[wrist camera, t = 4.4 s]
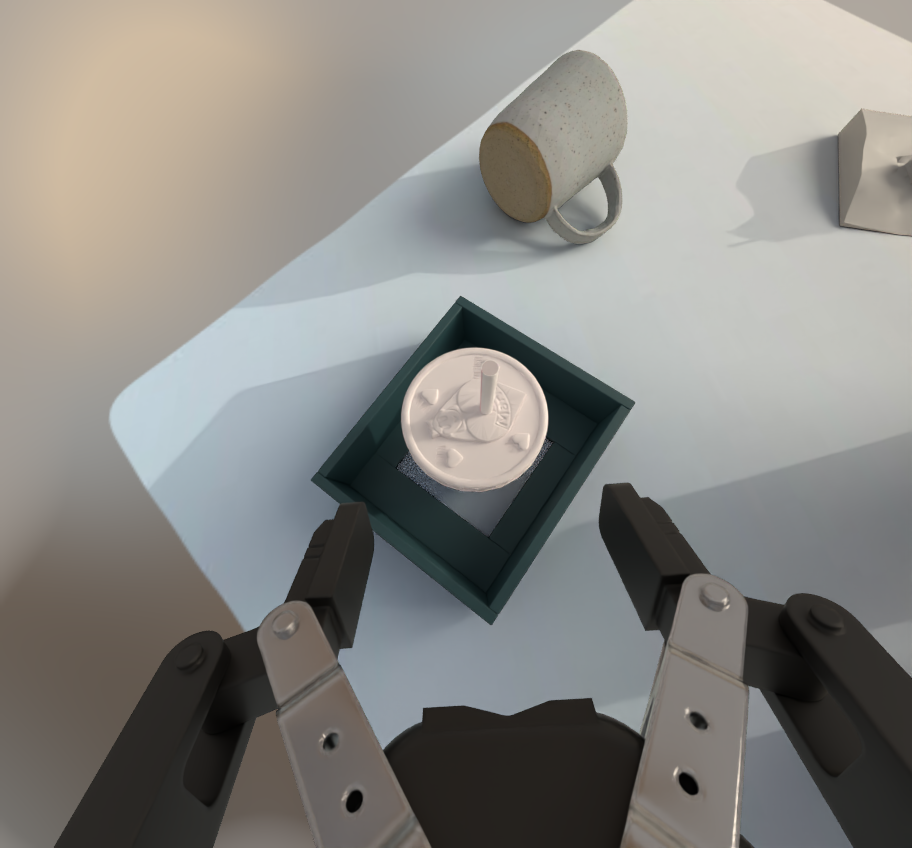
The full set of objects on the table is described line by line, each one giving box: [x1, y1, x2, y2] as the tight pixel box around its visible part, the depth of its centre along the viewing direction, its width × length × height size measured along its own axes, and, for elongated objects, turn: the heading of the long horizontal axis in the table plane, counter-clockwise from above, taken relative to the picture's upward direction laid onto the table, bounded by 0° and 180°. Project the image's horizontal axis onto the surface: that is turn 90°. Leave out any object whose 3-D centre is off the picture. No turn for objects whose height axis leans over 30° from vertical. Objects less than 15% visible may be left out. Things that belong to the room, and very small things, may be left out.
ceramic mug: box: [479, 50, 627, 244], centre depth 27 cm, size 11×8×8 cm
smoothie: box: [401, 348, 548, 492], centre depth 18 cm, size 6×6×14 cm
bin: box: [311, 296, 635, 625], centre depth 23 cm, size 14×12×4 cm
